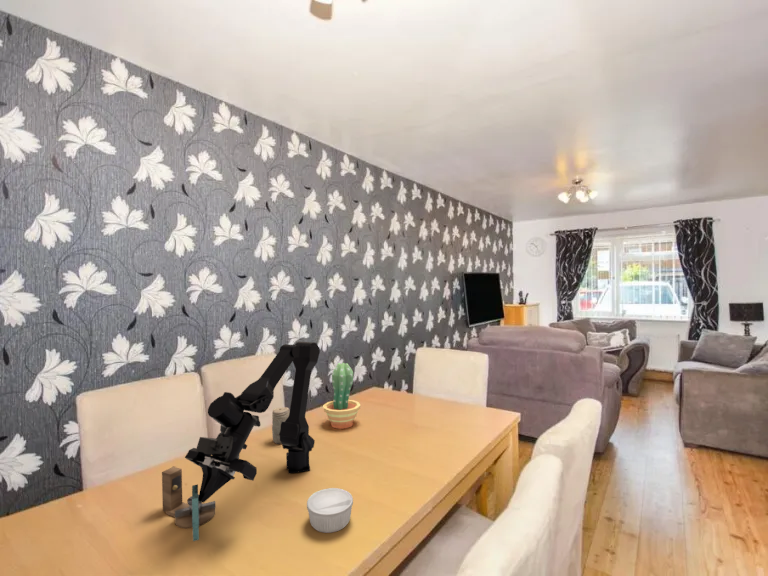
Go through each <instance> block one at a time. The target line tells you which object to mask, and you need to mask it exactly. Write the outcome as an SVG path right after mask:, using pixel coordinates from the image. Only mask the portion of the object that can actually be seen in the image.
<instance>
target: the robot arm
mask: <svg viewBox="0 0 768 576" xmlns="http://www.w3.org/2000/svg"><path fill="white" fill-rule="evenodd" d="M320 352H321V350H320V347H319V345H318V343H317V342H313V341H312V342H311V341H297V342H296V343H295V344H285V343H284V344H282V345H281V346H280V348H279V351H278V353H276V355H275V357H274V358H273V360H271V362H270V363H269V364H268V366H267V367H266V369H265V370H264V372H263V373H262V374H261V376H260V377H259V378H258V379H257V380H256V381H253V382H252V383H250V384H249V385H248V386H247V387H246V388H245V389H244V390H242V392H241V394H239V395H238V396H236V397H235V395H234V394H233V393H231V392H228V391H225V392H223V394H222V395H221V396H218V397H217V398H216V399H214V400H213V401H212V402H211V403H210V404H209V406H208V409H207V415H208V416H209V417H210V418H211V419H213V420H215V421H216V423H218V424H219V425H220V426H221V425H222V426H224V427H226V428H227V427H228V428H227V430H226V431H225V433H224V434H222V433H220V432H219V433H220V434H219V433H218V434H219V435H218V434H217V436H218V437H217V436H216V438H215V437H214V438H213V437H206V436H200V437H199V439H198V442H197V445H196V447H192V448H190V449H189V450H188V451H187V453H186V455H185V456H184V458H185V459H186V460H188V461H190V462H191V463H193V464H195V465H197V466H198V467H200V468H201V471H202V479H201V484H200V489H199V492H198V495H199V498H198V501H200V502H202V503H206V501H208V500H209V498H210V497H212V496H213V495H214V494H215V493H216V492H218V491H219V489H221V488H222V487H223V486H225V485H226V484H228V483H229V482H231V480H235V474H236V473H238V474H239V473H240V474H242V477H243V479H245V480H249V481H251V482H252V481H254V480H255V478H256V476H257V473H258V472H257V466H255V465H254V464H252V463H251V462H249V461H248V460H246V459H242V458H239V459H238V456H239V457H240V454H241V452H242V450H246V449H247V447H248V445H247V444H246V442H247V441H248V438H249V436H250V434H251V432H252V430H253V428H254V427H258V428H260V427H261V421H260V416H259V415H255V414H252V413H258V414H262V413H265V412H266V411H267V410H268V409H269V407H270V405H271V403H272V401H273V399H274V398H275V397H274V391H275V388H276V387H277V385H278V383H279V382H280V381H281V380H282V377H283V376H284V375H285V373H286V371H287V370H288V369H289V367H290V366H291V364H293V365H294V368H295V372H294V379H293V383H292V384H293V385H292V393H291V399H290V407H289V410H290V412H289V417H288V418H287V419H286V421H285V422H282V423H281V429H280V433H279V436H280V441H281V443H282V444H281V445H282V449H283V450H284V449H285V450H288V451H287V452H286V454H285V455H286V456H285V457H286V462H285V464H286V470H288V474H296V473H301V472H303V473H304V472H308V471H310V470H311V466H310V452H312V451H313V448H315V439H314V438H313V437H312V436H311V435H310V431H309V430H310V426H309V423H308V421H307V419H306V413H307V405H308V397H309V390H310V383H311V382H310V381H311V374H312V370H313V369H314V368H315V366H316V365H317V363H318V361H319V356H320V354H321V353H320ZM250 412H251V413H250Z"/></svg>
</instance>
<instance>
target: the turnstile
mask: <svg viewBox="0 0 768 576" xmlns="http://www.w3.org/2000/svg"><path fill="white" fill-rule="evenodd" d="M198 498H199V484H194V485H192V486H191V496H189V497H188V499H187V502H186V503H187V504H189V507H188V508H184V509H180V510H175V517H174V519H175V518H177V517H181V516H185V515H189V514H190V515H192V526H193V528H192V542H196V541H199V540H200V532H199V531H200V528H199V527H200V526H201V525H200V518H199V513H201V512H202V511H205V510H209V509H213V508H215V509H216V501H215V500H213V501H209V502H204V504H202V502H200V501H198ZM199 525H200V526H199Z"/></svg>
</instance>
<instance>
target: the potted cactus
mask: <svg viewBox="0 0 768 576" xmlns="http://www.w3.org/2000/svg"><path fill="white" fill-rule="evenodd" d="M331 382H332V383H331V385H332V387H333V400H331V401H327V402H325V403H324V404H323V406H322V407H323V411H324V413H326V417H327V420H328V421H330V423H331V427H332V428H334V429H340V430H341V429H347V428H350V427H352V426H353V425H354V420H355V419H356V417H357V415H358V411H359V410H360V409H361V404H360V402H359V401H357V400H355V399H350V398H349V397H350V393H351V389H352V386H353V384H354V371H353V369H352V367H350V365H349V364H348V363H345V362H342V363H340V362H338V363H337V365H336V366H335V367H334V369H333V371H332V373H331Z"/></svg>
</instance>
